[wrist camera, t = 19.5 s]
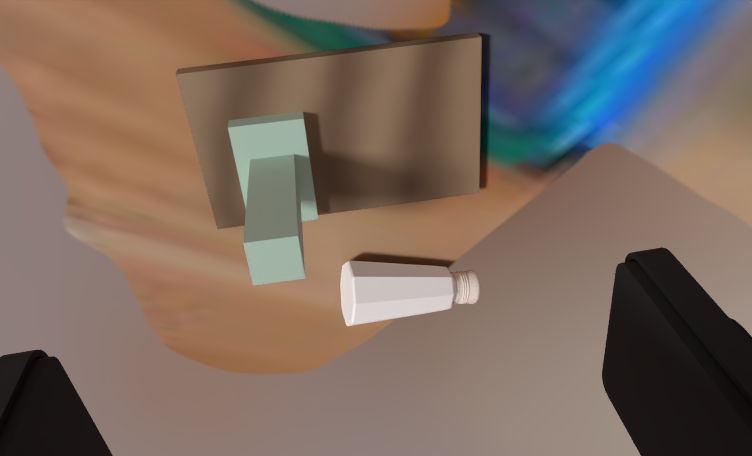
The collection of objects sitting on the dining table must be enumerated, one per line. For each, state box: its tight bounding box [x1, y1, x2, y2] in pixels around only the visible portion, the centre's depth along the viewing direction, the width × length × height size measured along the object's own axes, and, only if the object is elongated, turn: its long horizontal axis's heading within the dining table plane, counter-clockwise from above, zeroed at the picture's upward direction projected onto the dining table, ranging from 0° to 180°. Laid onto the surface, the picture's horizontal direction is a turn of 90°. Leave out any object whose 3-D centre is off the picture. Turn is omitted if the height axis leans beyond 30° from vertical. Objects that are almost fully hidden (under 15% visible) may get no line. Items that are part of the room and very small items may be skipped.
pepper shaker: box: [340, 261, 480, 326], centre depth 51 cm, size 5×5×11 cm
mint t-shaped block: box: [228, 112, 318, 285], centre depth 40 cm, size 5×8×11 cm, turn 4°
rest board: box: [176, 33, 482, 229], centre depth 44 cm, size 20×12×1 cm, turn 95°
